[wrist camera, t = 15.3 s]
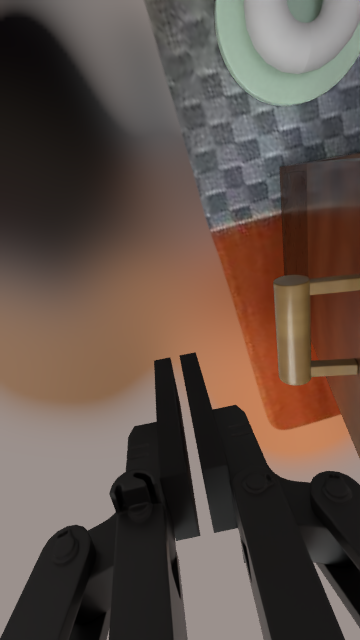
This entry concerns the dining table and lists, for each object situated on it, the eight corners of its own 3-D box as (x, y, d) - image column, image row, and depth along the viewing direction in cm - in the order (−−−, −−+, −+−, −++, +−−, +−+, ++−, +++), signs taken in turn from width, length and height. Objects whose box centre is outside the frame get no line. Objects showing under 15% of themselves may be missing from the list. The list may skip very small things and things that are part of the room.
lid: (420, 152, 11) (272, 178, 12) (384, 480, 18) (288, 478, 19) (316, 161, 27) (254, 172, 28) (317, 336, 33) (266, 340, 34)
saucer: (334, -149, 25) (339, -160, 24) (391, 44, 30) (397, 40, 29) (182, -23, 27) (183, -29, 26) (261, 138, 32) (263, 137, 31)
